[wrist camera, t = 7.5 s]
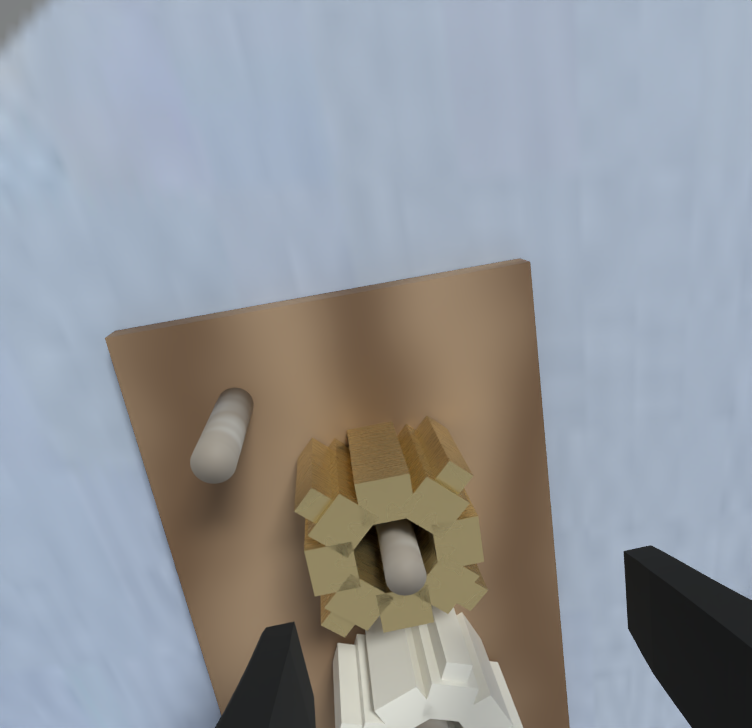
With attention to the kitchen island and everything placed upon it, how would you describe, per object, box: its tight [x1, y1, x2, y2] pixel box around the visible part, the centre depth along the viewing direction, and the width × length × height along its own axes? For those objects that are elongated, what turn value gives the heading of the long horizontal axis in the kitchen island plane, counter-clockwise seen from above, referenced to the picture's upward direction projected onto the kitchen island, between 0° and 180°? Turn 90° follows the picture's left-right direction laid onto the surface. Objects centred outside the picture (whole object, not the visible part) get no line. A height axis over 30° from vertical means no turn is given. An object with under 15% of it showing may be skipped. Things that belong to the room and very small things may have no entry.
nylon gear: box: [333, 605, 523, 728], centre depth 22 cm, size 5×5×4 cm
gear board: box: [105, 259, 570, 728], centre depth 21 cm, size 14×22×6 cm, turn 9°
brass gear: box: [294, 416, 488, 637], centre depth 19 cm, size 5×5×4 cm
